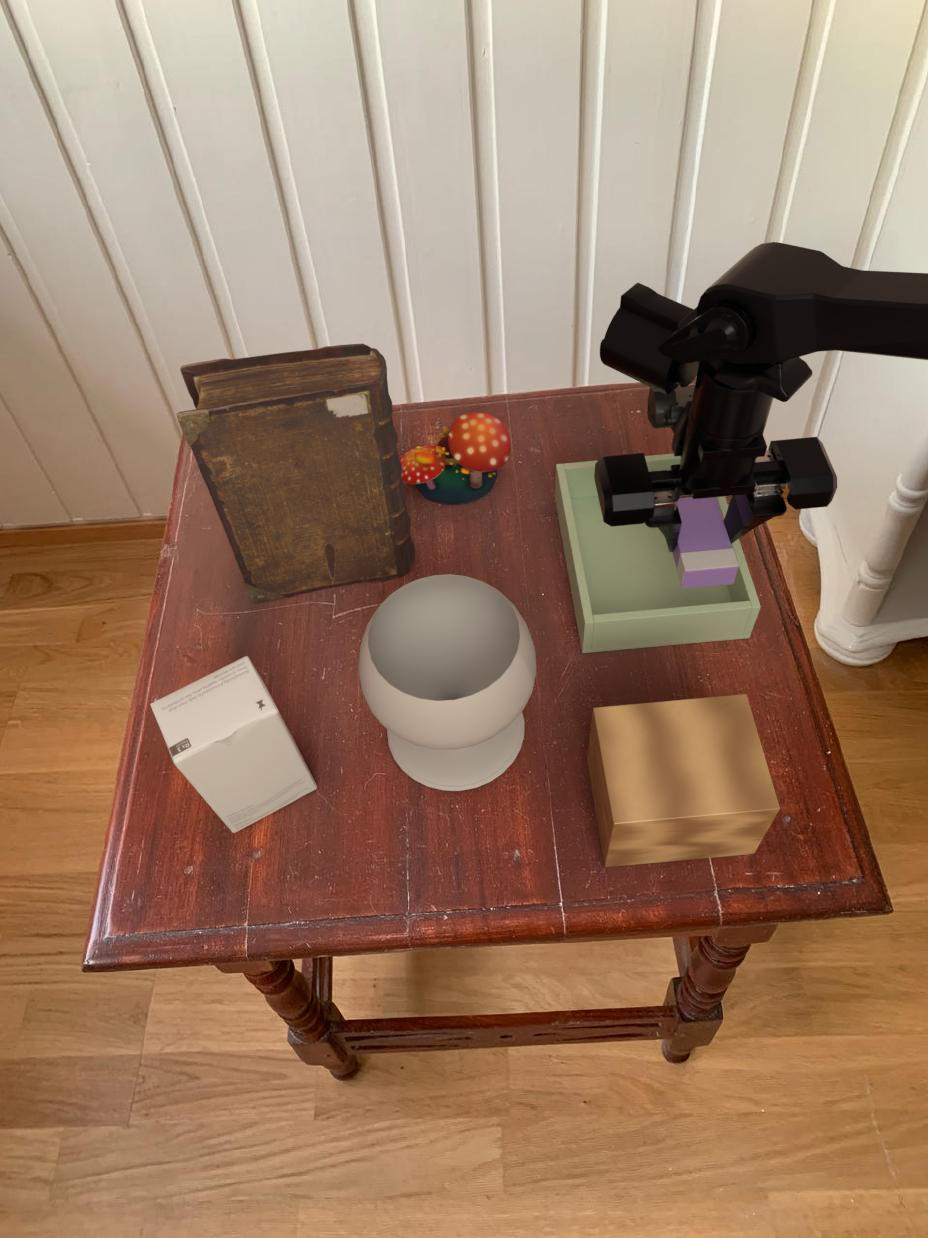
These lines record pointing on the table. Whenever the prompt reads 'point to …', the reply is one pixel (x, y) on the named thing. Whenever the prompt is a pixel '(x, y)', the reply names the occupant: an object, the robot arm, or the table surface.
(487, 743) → the chalice
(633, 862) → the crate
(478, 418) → the figurine
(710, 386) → the robot arm
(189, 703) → the cosmetic box
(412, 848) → the table surface
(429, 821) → the table surface
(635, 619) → the tray
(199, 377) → the book
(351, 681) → the table surface
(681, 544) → the chocolate bar
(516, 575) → the table surface
